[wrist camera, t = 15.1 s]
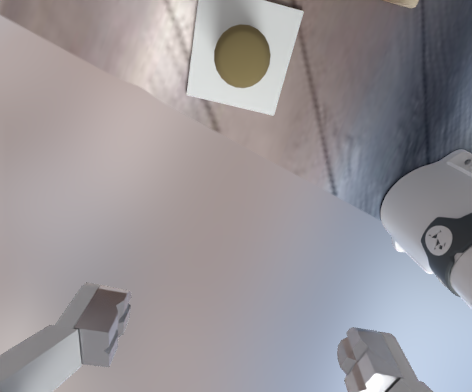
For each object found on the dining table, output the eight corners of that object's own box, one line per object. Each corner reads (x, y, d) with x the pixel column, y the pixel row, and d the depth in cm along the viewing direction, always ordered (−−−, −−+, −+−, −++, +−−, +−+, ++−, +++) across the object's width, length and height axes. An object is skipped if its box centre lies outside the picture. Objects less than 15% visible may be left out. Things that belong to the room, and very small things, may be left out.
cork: (209, 65, 33) (195, 71, 23) (233, 16, 31) (229, -1, 21) (249, 92, 34) (252, 107, 25) (276, 46, 32) (291, 44, 22)
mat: (302, 12, 31) (303, 11, 30) (273, 114, 36) (273, 115, 36) (201, -16, 30) (200, -18, 29) (187, 94, 35) (186, 95, 35)
